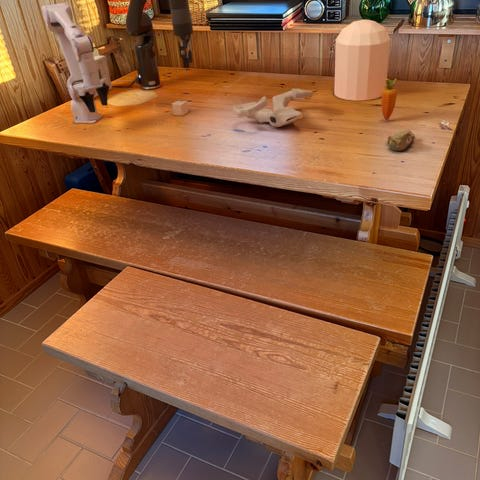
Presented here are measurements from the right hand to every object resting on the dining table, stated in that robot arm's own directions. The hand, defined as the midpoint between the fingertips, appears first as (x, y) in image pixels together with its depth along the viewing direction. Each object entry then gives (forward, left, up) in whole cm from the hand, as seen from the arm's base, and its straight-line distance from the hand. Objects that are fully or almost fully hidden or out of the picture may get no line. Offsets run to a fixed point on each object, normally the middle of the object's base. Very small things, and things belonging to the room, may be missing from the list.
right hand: (188, 65), depth 185 cm
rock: (+89, -2, -18) cm, 91 cm away
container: (+55, +43, -18) cm, 72 cm away
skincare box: (-59, -4, -18) cm, 61 cm away
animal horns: (+43, -2, -18) cm, 47 cm away
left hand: (-17, -35, -9) cm, 40 cm away
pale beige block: (-2, -7, -18) cm, 19 cm away
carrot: (+77, +17, -18) cm, 81 cm away
